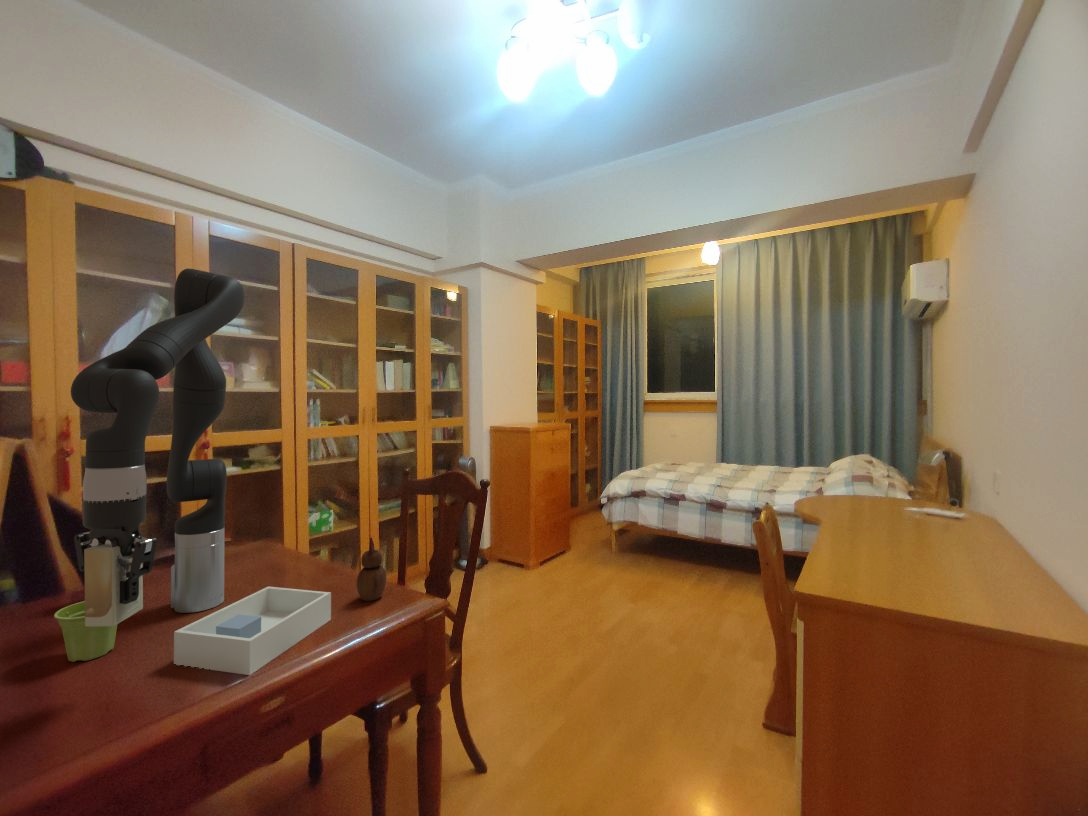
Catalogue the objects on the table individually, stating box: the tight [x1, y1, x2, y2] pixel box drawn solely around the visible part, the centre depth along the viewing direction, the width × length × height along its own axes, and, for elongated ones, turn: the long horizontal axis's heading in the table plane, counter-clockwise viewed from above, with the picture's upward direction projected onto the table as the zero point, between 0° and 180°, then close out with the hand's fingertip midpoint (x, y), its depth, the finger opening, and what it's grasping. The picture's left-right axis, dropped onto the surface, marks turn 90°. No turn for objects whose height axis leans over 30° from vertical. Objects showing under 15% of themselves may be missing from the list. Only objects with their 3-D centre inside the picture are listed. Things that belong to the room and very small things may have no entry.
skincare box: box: [84, 544, 144, 626], centre depth 76 cm, size 6×4×12 cm
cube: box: [216, 615, 261, 638], centre depth 88 cm, size 5×5×5 cm
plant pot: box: [53, 600, 118, 663], centre depth 87 cm, size 9×9×9 cm
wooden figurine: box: [356, 537, 387, 602], centre depth 113 cm, size 7×6×15 cm
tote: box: [173, 586, 332, 676], centre depth 93 cm, size 16×22×6 cm
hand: (114, 599), depth 76 cm, fingers closed on skincare box, 5 cm apart
